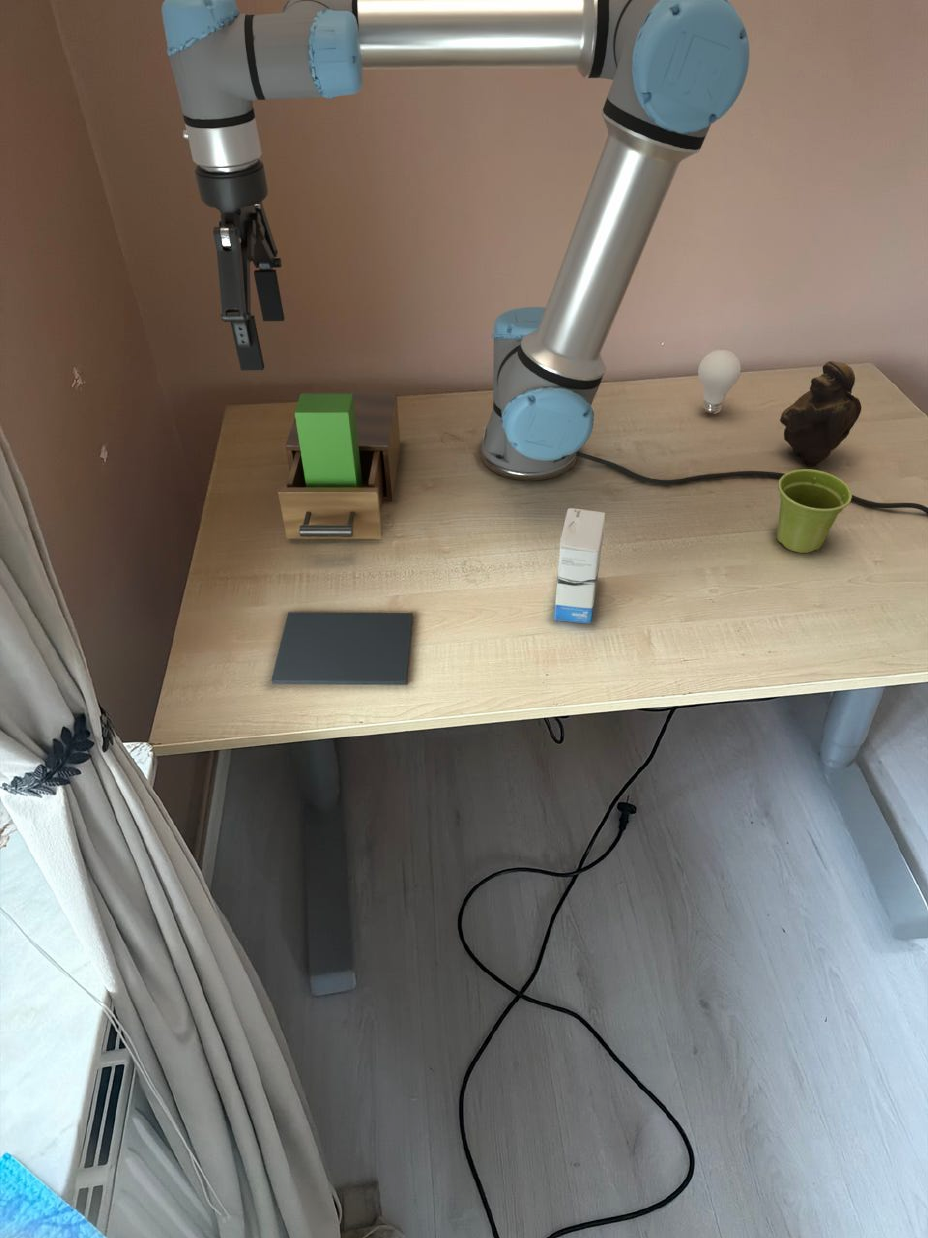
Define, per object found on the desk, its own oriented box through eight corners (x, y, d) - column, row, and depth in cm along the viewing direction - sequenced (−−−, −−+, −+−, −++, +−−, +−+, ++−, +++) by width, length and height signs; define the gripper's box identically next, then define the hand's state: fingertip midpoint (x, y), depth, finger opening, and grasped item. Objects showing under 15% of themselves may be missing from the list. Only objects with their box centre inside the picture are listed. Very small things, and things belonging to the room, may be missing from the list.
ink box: (591, 625, 113) (600, 552, 105) (552, 620, 114) (558, 547, 106) (598, 582, 119) (606, 510, 111) (560, 578, 120) (566, 505, 112)
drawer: (378, 560, 122) (373, 513, 116) (280, 560, 122) (271, 513, 117) (390, 480, 136) (386, 435, 131) (302, 480, 136) (295, 435, 131)
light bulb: (735, 423, 148) (748, 361, 141) (694, 423, 148) (706, 361, 141) (726, 402, 153) (739, 342, 146) (687, 403, 153) (698, 342, 146)
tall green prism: (364, 499, 130) (352, 393, 119) (360, 519, 127) (348, 412, 115) (316, 499, 131) (300, 393, 119) (311, 519, 127) (294, 412, 115)
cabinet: (392, 501, 133) (387, 445, 127) (295, 501, 134) (285, 445, 127) (400, 445, 145) (396, 391, 138) (310, 445, 145) (302, 391, 139)
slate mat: (413, 616, 115) (412, 612, 114) (406, 684, 106) (406, 681, 105) (288, 615, 115) (288, 612, 115) (272, 683, 106) (271, 680, 106)
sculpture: (752, 432, 139) (812, 344, 133) (795, 450, 145) (854, 367, 139) (794, 465, 132) (859, 373, 125) (838, 483, 138) (902, 396, 131)
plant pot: (835, 527, 127) (853, 475, 121) (833, 567, 121) (851, 515, 115) (768, 515, 129) (781, 464, 124) (761, 553, 123) (775, 501, 117)
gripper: (220, 131, 108) (254, 302, 123) (163, 200, 90) (210, 392, 104) (282, 129, 108) (308, 301, 122) (237, 198, 90) (274, 391, 104)
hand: (263, 343), depth 113 cm, fingers open, 13 cm apart
